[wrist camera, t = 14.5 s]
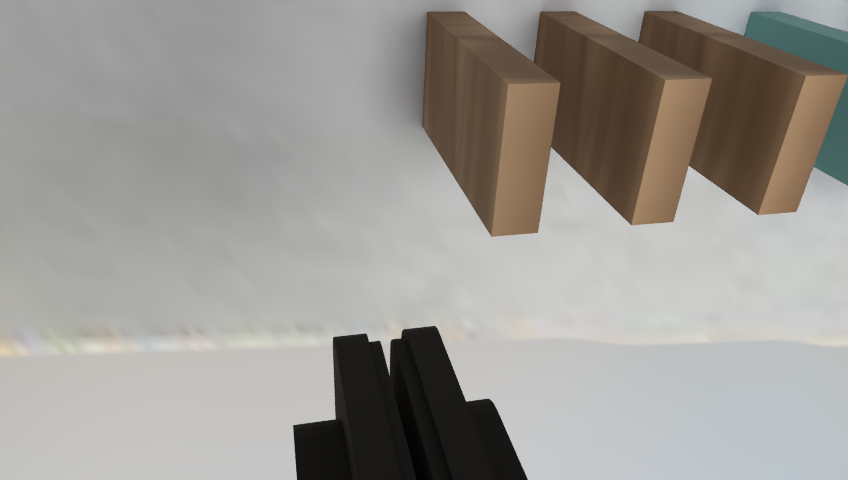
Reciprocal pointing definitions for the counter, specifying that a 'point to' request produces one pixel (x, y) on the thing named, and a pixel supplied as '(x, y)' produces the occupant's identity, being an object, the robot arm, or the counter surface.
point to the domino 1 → (489, 120)
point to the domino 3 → (751, 109)
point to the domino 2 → (621, 114)
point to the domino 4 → (843, 51)
